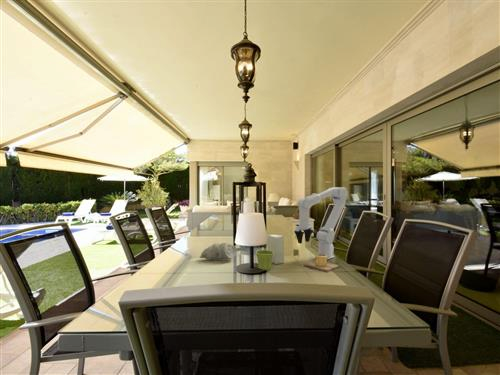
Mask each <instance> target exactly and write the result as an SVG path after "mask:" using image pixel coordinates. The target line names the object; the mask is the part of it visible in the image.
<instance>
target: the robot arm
mask: <svg viewBox="0 0 500 375" xmlns="http://www.w3.org/2000/svg"><path fill="white" fill-rule="evenodd" d="M348 196H349V192H348V190H347V188H346V187H345V186H343V187H342V186H341V187H339V186H338V187H337V186H336V187H335V186H333V187H329V188H328V189H326V190H323V191H321V192H320V193H315V192H313V193H311V195H309V196H308V195H307V196H305V197H304V198H300V199H299V200H298V202H297V203H296V204H297V207H298V211H299V215H298V225H297V227H295V228H294V234H295V237H296V240H297V244H302V243H303V237H304V241H305V242H306V243H307V242H308V243H309V242H310V241H311V240H310V239H311V236H312V233H313V232H314V229H313V225H310V209H311V208H312V206H314V205H318V204H319V203H320V202H321V200H323V199H325V198H328V197H331V199H332V200H333V202H334V203H335V204H334V206H333V207H332V210H331V212H330V214H329V216H328V218H327V220H326V222H325V224H324V226H322V227H320V229H319V231H317V233H316V239H317V241H318V253H317V255H318V254H323V255H327V260H330V259H334V258H335V257H336V256H335V255H334V252H335V251H334V249H335V248H334V245H333V242H334V241H335V235H336V232H335V231H334V229H335V227H336V225H337V223H338V221H339V219H340V217H341V214H342V212H343V210H344V208H345V206H346V201H347V198H348Z"/></svg>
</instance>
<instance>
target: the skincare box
mask: <svg viewBox="0 0 500 375" xmlns="http://www.w3.org/2000/svg"><path fill="white" fill-rule="evenodd" d="M266 238H267V239H266V240H267V243H266V244H267V250H269V251H273V252H274V254H273V257H272V262H271V264H275V265H278V264H280V265H281V264H284V263H285V242H284V241H285V238H284V235H279V234H267V236H266Z"/></svg>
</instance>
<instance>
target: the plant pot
mask: <svg viewBox="0 0 500 375" xmlns="http://www.w3.org/2000/svg"><path fill="white" fill-rule="evenodd" d="M254 253H255V255H256V258H257V269H258V268H260V269H265V271H270V270H271V267H272V257H273V254H274V252H273V251H269V250H268V249H266V250H265V249H261V250H256V251H255V252H254Z"/></svg>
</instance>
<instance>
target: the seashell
mask: <svg viewBox="0 0 500 375" xmlns="http://www.w3.org/2000/svg"><path fill="white" fill-rule="evenodd" d="M236 253H237V252H236V248H235V247H234V245H233V244H232V243H229V242H222V243H213V244H212V245H211V246H208V247H207V248H204V249H203V251H202V252H201V254H200V256H199V258H200V259H204V260H206V261H208V262H209V261H215V260H217V261H223V260H224V261H225V260H227V261H228V260H230V261H231V260H232V259H234V258H235V257H236V256H237V254H236Z"/></svg>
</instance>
